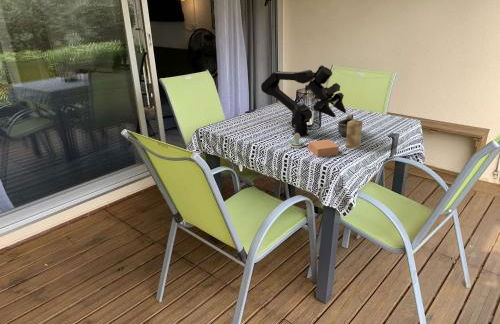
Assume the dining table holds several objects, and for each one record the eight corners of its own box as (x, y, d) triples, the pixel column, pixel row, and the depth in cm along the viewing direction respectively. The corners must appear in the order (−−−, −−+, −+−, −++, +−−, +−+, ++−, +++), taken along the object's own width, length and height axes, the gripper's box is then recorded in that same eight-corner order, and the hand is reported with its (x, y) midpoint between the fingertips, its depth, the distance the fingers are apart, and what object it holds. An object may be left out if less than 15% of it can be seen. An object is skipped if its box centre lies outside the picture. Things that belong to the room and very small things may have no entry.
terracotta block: (308, 150, 171) (308, 142, 170) (327, 147, 174) (328, 139, 172) (317, 157, 163) (317, 149, 161) (338, 154, 165) (338, 146, 163)
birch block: (345, 146, 173) (347, 122, 168) (350, 143, 176) (352, 119, 172) (355, 148, 170) (357, 124, 165) (360, 145, 173) (362, 121, 169)
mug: (336, 137, 185) (337, 118, 181) (338, 130, 196) (339, 111, 192) (355, 139, 182) (357, 119, 178) (356, 131, 193) (358, 112, 189)
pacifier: (303, 149, 172) (304, 144, 178) (304, 136, 170) (305, 132, 175) (288, 148, 174) (289, 143, 179) (288, 136, 171) (289, 131, 177)
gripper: (317, 81, 163) (340, 107, 159) (339, 75, 176) (361, 98, 171) (304, 99, 171) (325, 123, 167) (326, 92, 183) (346, 114, 179)
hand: (340, 114), depth 171 cm, fingers open, 9 cm apart
